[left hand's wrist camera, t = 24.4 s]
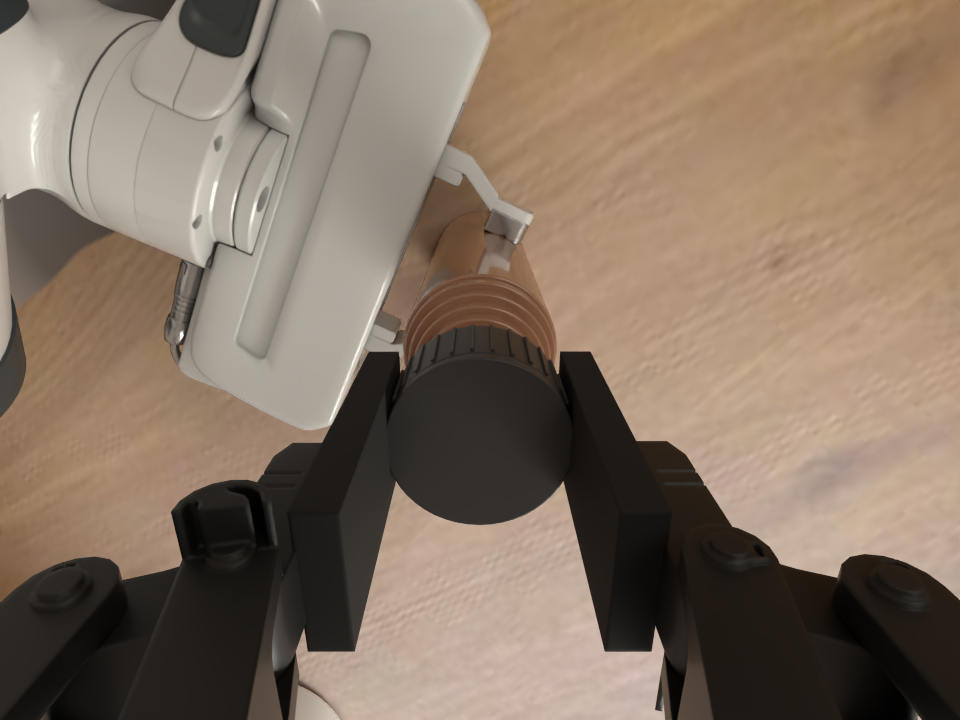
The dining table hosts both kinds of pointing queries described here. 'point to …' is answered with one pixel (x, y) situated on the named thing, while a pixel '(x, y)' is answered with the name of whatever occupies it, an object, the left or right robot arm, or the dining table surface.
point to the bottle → (478, 289)
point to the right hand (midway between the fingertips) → (497, 289)
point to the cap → (479, 426)
